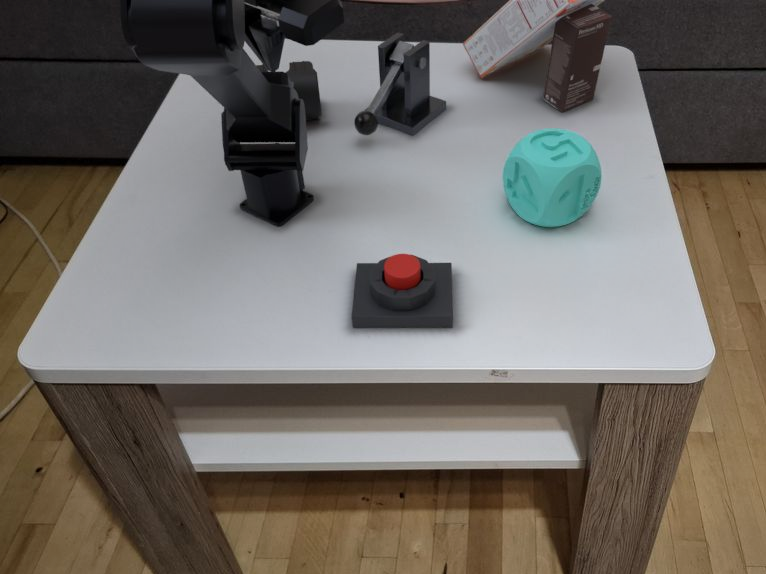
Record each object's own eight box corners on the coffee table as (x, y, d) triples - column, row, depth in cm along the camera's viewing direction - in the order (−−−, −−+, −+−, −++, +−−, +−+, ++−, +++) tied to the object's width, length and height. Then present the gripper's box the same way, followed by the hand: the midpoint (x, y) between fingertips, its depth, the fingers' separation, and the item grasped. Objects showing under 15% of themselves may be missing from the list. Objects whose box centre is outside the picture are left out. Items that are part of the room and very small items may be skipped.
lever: (374, 142, 96) (365, 130, 94) (355, 135, 98) (346, 123, 95) (422, 58, 97) (415, 43, 95) (403, 52, 99) (396, 37, 96)
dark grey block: (248, 136, 100) (238, 89, 94) (248, 108, 104) (239, 62, 99) (323, 129, 100) (317, 82, 95) (320, 102, 105) (315, 55, 100)
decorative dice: (542, 237, 84) (550, 177, 78) (499, 201, 89) (504, 141, 83) (596, 212, 87) (608, 152, 81) (552, 178, 92) (560, 120, 86)
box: (563, 114, 101) (577, 27, 92) (541, 99, 104) (553, 13, 95) (596, 101, 104) (613, 14, 95) (574, 86, 106) (589, 1, 97)
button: (384, 290, 74) (383, 277, 73) (385, 266, 77) (384, 253, 76) (420, 290, 74) (420, 277, 73) (420, 266, 77) (420, 253, 75)
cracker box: (525, 11, 113) (623, -71, 95) (543, 48, 114) (644, -26, 96) (459, 41, 107) (550, -41, 89) (479, 80, 108) (573, 7, 90)
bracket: (413, 135, 99) (411, 64, 91) (364, 118, 102) (359, 48, 95) (446, 109, 103) (447, 39, 96) (399, 92, 106) (396, 24, 99)
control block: (352, 328, 75) (349, 303, 73) (358, 274, 81) (355, 249, 78) (452, 328, 75) (453, 303, 72) (451, 274, 80) (451, 249, 78)
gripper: (370, -82, 75) (379, 61, 87) (233, -123, 82) (260, 15, 94) (298, -36, 69) (319, 110, 82) (157, -83, 76) (196, 57, 89)
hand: (273, 69), depth 87 cm, fingers closed
